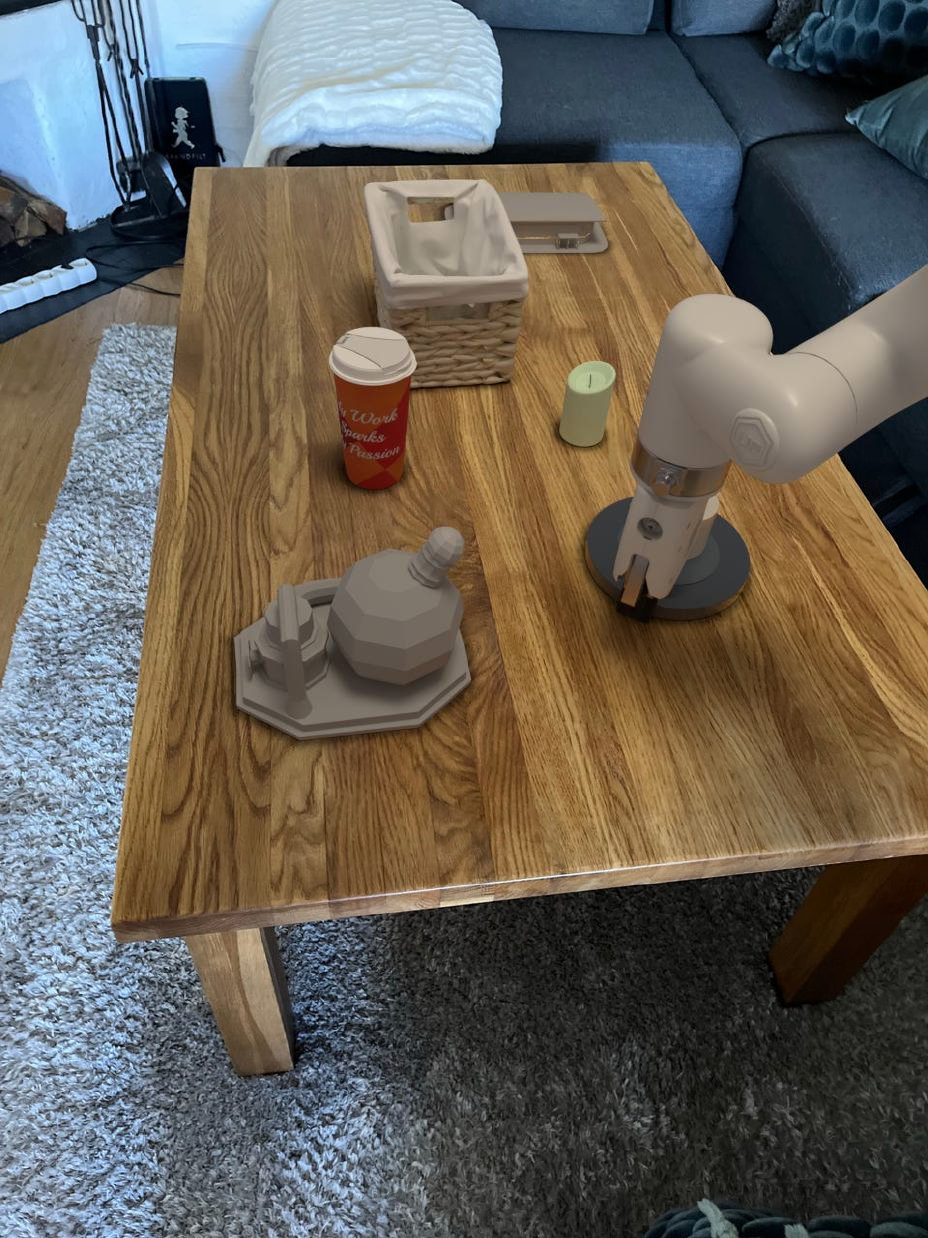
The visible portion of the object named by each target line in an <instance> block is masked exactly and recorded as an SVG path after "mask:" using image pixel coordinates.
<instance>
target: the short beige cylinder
mask: <svg viewBox="0 0 928 1238" xmlns="http://www.w3.org/2000/svg"><path fill="white" fill-rule="evenodd" d="M719 510H720V499H719V496H718V495H717V494H716V495H715V496H713V497H712V498H709V500H708V503H707V507H706V510H705V513H704V517H703V520H702V524H701V527H700V531H699V534H698V537H697V539H696V542H695V544H694V546H693V548H692V550H691V552H690V554H689V556H688V558H687V560H690V559H693V558H696V557H697V556H699V555H700V554H701V553H702V552H703V551H704V549H705V547H706V544H707V541H708V538H709V536H710V533H711V530H712V527H713V524H714V521H715V518H716V515H717V514H718V512H719Z"/></svg>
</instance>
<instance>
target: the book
mask: <svg viewBox="0 0 928 1238" xmlns="http://www.w3.org/2000/svg"><path fill="white" fill-rule="evenodd" d="M496 193H497V194H498V195H499V197H500V199H501V201H502V203H503V206H504V208H505V210H506V213H507V215H508V218H509V221H510V223H511V225H512V228H513V231H514V233H515V235H516V237H519V238H525V237H548V236H552V237H554V236H555V237H556V238H557V241H558V243H557V241H556V238H553V239H517V240H518V242H519V245H520V247H521V250H522V253H523V254H597V253H603V252H604V251H606V250H607V249H608V248H609V242H608V239H607V237H606V234H605V232H604V230H603V228H602V226H601V223H606V218H605V215H604V214H603V212H602V210H601V209H600V207H599V205H598V204H597V202H596V201H595V199H594V198H593V197H592V196H590V194H587V193H586V192H528V191H527V192H522V191H521V192H517V191H516V192H506V191H505V192H504V191H503V192H502V191H501V192H500V191H499V192H497V191H496ZM443 215H444V218H445V219H444V220H451V219H453V217H454V204H450V205H448V206H447V207H445V209H444V212H443ZM588 233H590V234H589V235H588V236H586V235H587V234H588ZM558 236H559V238H558ZM579 236H586V237H585V238H579ZM559 241H560V244H559ZM568 241H569V244H568ZM578 241H579V243H578Z"/></svg>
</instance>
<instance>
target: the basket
mask: <svg viewBox="0 0 928 1238" xmlns="http://www.w3.org/2000/svg"><path fill="white" fill-rule="evenodd" d="M496 192H497V191H496V189H495V188H494V186H493V185H492V184H491V183H489V182H488V181H487V180H486V179H485V178H479V179H423V180H422V179H419V180H418V179H417V180H415V179H413V180H394V181H393V180H392V181H380V182H379V181H374V182H373V181H371V182H368V183H366V184H365V185H364V186H363V199H364V200H363V201H364V208H365V214H366V215H365V217H366V219H367V226H368V227H367V228H368V232H369V235H370V237H369V238H370V248H371V252H372V253H371V255H372V268H373V270H372V271H373V272H372V273H373V279H374V289H373V291H374V292H373V294H374V295H375V302H376V308H377V309H376V310H377V320H378V323H379V328H385V329H389V330H392V331H395V332H397V333H399V334H400V335H402V336H403V337H404V338H405V339H406V340H407V342H408V345H409V347H410V349H411V350H412V352H413V354H414V356H415V359H416V363H417V366H416V369H415V370H414V372H413V373H412V374H411V384H410V389H417V388H421V387H423V388H434V387H441V386H442V387H455V386H463V385H465V386H471V385H479V384H485V385H490V384H497V383H501V382H507V381H510V380H511V379H512V375H513V371H514V366H515V356H516V353H517V351H518V350H517V349H518V340H519V337H520V334H521V326H520V325H521V323H522V316H523V306H524V302H525V299H526V298H528V297H529V295H530V285H529V268H528V265H527V263H526V259H525V256H524V253H522V250H521V247H520V245H519V242H518V240H517V237H516V235H515V233H514V231H513V228H512V225H511V223H510V221H509V218H508V215H507V213H506V210H505V208H504V206H503V203H502V201H501V199H500V197H499V195H498V194H497V193H496ZM425 204H426V205H432V204H435V205H441V204H446V205H448V204H452V205H454V217H453V219H451V220H446V219H444V220H437V221H436V220H435V221H434V220H433V221H421V222H412V221H411V220H410V218H409V205H418V206H421V205H425Z"/></svg>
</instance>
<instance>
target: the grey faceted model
mask: <svg viewBox="0 0 928 1238" xmlns="http://www.w3.org/2000/svg"><path fill="white" fill-rule="evenodd" d="M429 533H430V534H429V536H428V538H427V541H426V542H425V543H423V544H422V547H421V548H420V549H419V550H418V552H412V551H407V550H403V549H402V550H401V549H396V548H390V547H388V548H386V549H383V550H381V551H379V552H377V553H373V554H371V555H369V556H366V557H364V558H361V559H359V560H357V561H355V562H354V563H352V564H351V566H349V567H348V568H347V569H345V571H344V573H343V575H342V577H330V578H323V579H317V580H315V579H314V580H310V581H307V582H306V581H305V582H304V583H300V584H297V585H295V586H293V585H292V584H289V583H283V584H281V585H279V586H278V587H277V589H276V598H274V599H273V600H272V601H270V602H268V604H267V606H266V609H265V611H264V615H263V616H262V617H260V618H259V619H258V620H256V621H255V622H253V623H252V624H250V625H248V626H247V627H246V628H244V629H243V630H241V631H240V633H238V634H237V635H236V636H234V637H233V642H234V655H235V667H236V668H235V669H236V670H235V671H236V672H235V674H236V677H235V678H236V680H235V681H236V682H235V687H236V688H235V690H236V691H235V692H236V693H235V694H236V696H235V697H236V699H235V700H236V701H235V702H236V709H237V710H239V711H241V712H243V713H245V714H247V715H249V716H250V717H251V716H252V717H253V718H255V719H256V720H259V721H261V722H263V723H265V724H267V725H269V726H271V727H273V728H275V729H276V730H277V731H278V730H279V731H281V732H283V733H284V734H286V735H288V736H290V737H292V738H293V739H296V740H297V741H308V740H317V739H327V738H336V737H345V736H355V735H363V734H374V733H382V732H391V731H398V730H399V731H400V730H410V729H419V728H421V727H422V726H423V725H424V724H425V723H427V722H428V721H429V720H430V719H432V718H433V717H434V716H435V715H437V713H439V712H440V711H441V710H442V709H444V708H445V707H446V706H447V705H448V704H449V703H451V701H453V700H454V699H455V698H456V697H457V696H458V695H459V694H461V693H462V692H463V691H464V690H465V689H466V688H467V687H468V686H470V684H471V683H472V677H471V672H470V668H469V662H468V657H467V652H466V647H465V642H464V639H463V636H462V633H461V629H460V626H461V623H462V619H463V615H464V612H465V608H464V603H463V598H462V594H461V592H460V591H459V589H458V588H457V586H455V584H453V582H451V581H452V580H450V578H449V577H448V576H447V574H448V573H449V571H451V569H453V568H454V565H455V564H457V563H458V562H460V561H461V558H462V556H463V554H464V550H465V547H466V541H465V539H464V537H463V536H462V533H461V532H460V531H459V530H457V529H456V528H454V527H452V526H439V527H436V528H434V529H433V530H432V531H431V532H429Z"/></svg>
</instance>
